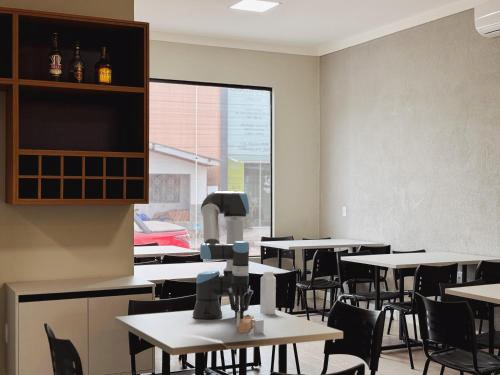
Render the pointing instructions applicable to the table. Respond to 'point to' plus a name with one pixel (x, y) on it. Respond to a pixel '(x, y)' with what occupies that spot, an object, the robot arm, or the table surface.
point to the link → (246, 324)
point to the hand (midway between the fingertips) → (239, 325)
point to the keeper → (258, 325)
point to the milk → (268, 293)
